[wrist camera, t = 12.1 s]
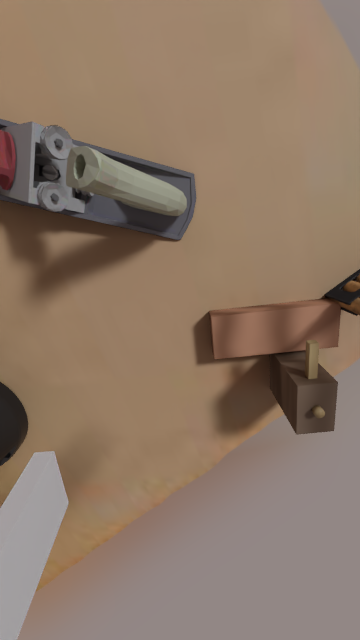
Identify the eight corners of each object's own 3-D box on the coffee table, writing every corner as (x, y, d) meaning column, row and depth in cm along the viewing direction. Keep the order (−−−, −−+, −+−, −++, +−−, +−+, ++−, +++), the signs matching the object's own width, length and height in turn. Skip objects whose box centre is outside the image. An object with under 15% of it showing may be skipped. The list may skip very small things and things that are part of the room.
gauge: (270, 388, 38) (299, 439, 29) (269, 320, 35) (302, 353, 26) (299, 385, 38) (338, 436, 29) (301, 317, 35) (345, 349, 26)
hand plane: (186, 241, 32) (193, 252, 18) (-91, 177, 30) (-333, 131, 16) (201, 176, 30) (221, 130, 16) (-97, 101, 28) (-384, -30, 14)
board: (212, 350, 36) (214, 359, 34) (209, 310, 35) (211, 317, 32) (327, 338, 36) (337, 346, 33) (329, 298, 34) (341, 303, 32)
